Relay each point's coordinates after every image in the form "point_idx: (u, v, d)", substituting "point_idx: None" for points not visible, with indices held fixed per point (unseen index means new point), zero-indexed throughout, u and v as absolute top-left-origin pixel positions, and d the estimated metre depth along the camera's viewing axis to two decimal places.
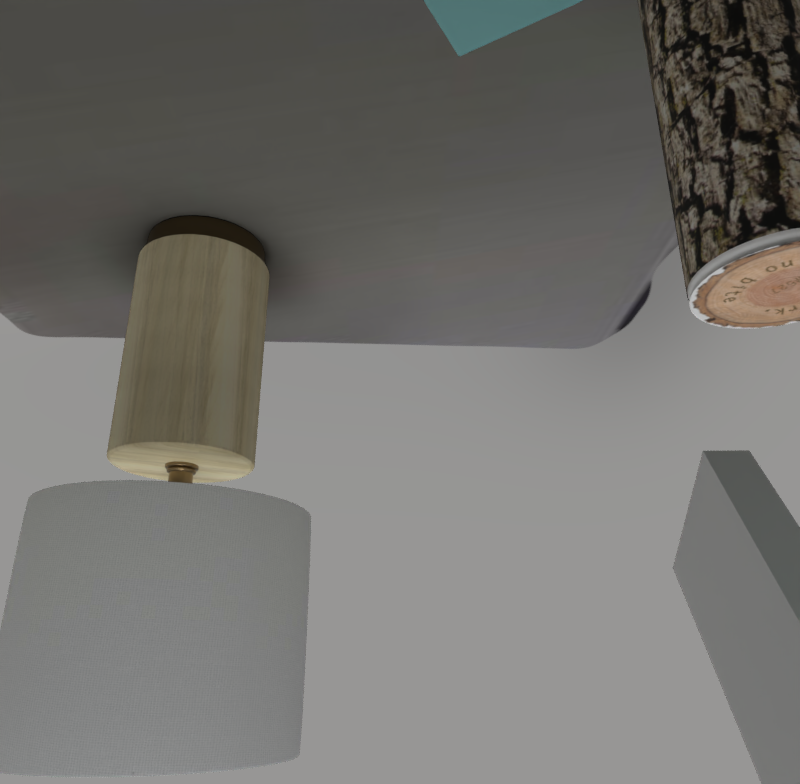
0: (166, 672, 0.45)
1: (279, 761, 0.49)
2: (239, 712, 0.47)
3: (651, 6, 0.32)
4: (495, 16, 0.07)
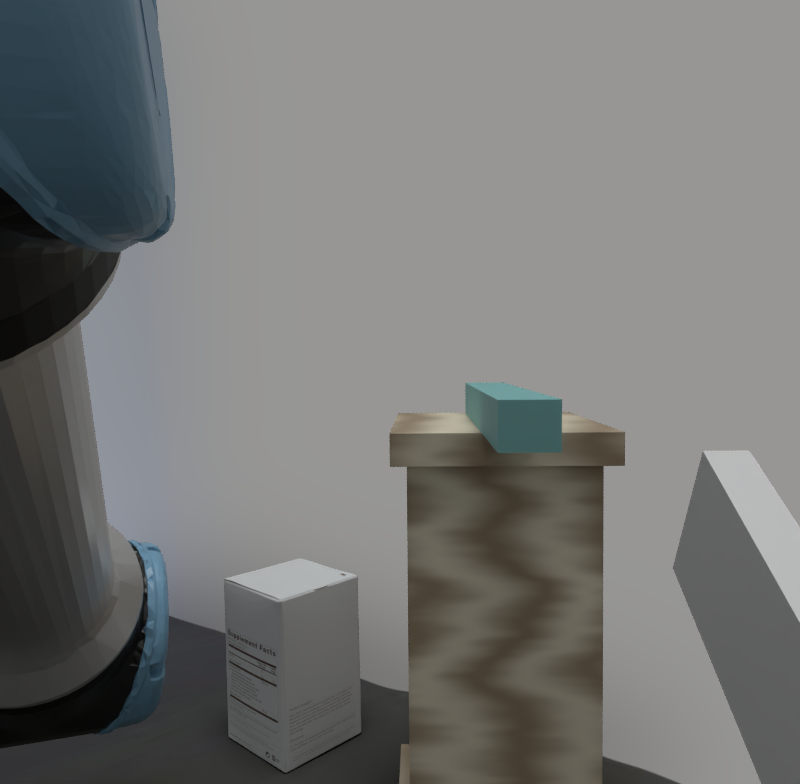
0: None
1: None
2: None
3: None
4: (554, 398, 0.34)
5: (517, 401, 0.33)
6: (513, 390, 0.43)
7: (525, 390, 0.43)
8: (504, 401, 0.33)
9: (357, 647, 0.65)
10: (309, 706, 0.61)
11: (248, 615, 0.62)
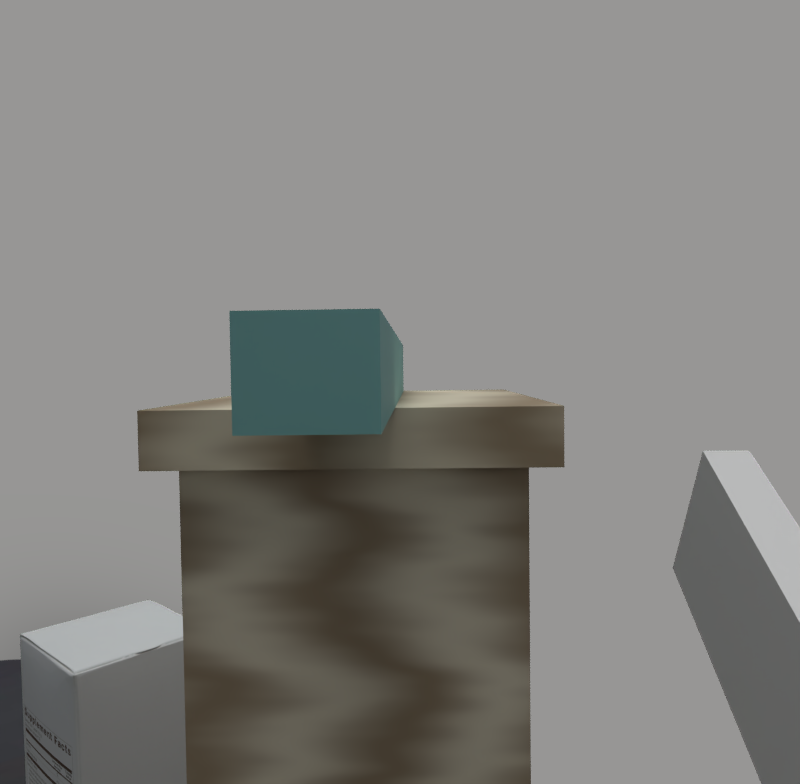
0: None
1: None
2: None
3: None
4: None
5: (275, 314, 0.14)
6: None
7: None
8: (246, 314, 0.14)
9: None
10: None
11: (42, 690, 0.42)
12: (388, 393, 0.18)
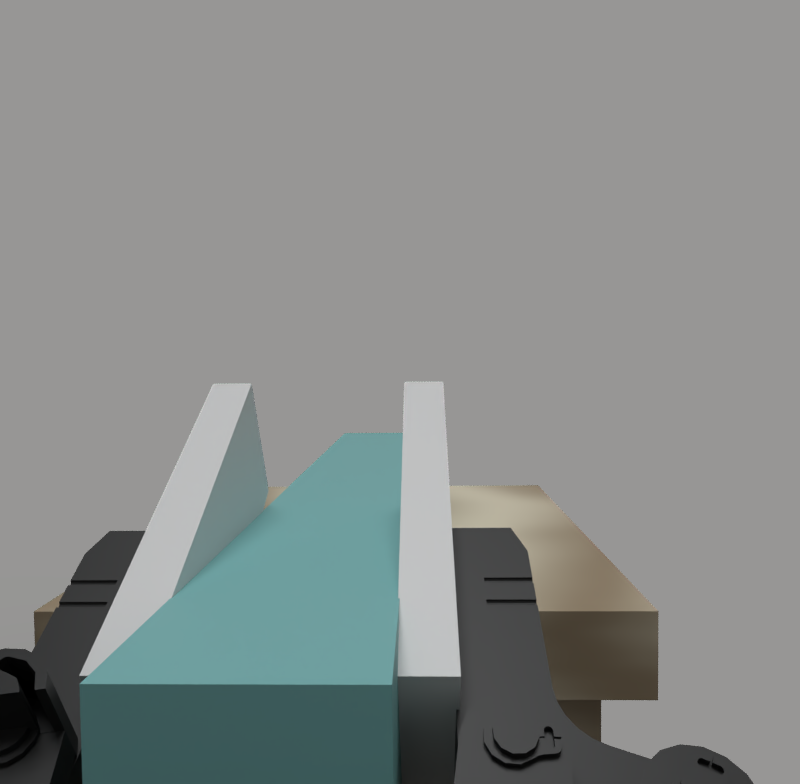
0: None
1: None
2: None
3: None
4: (368, 661, 0.07)
5: (173, 694, 0.07)
6: (365, 494, 0.16)
7: (396, 494, 0.16)
8: (114, 689, 0.07)
9: None
10: None
11: None
12: None
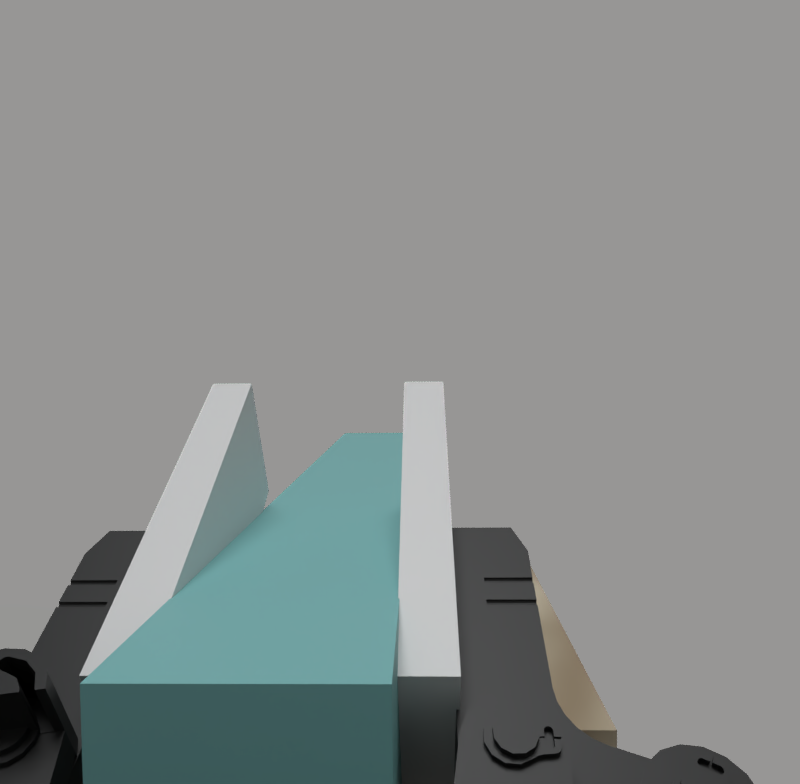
0: None
1: None
2: None
3: None
4: (368, 661, 0.07)
5: (173, 693, 0.07)
6: (365, 494, 0.16)
7: (396, 494, 0.16)
8: (115, 689, 0.07)
9: None
10: None
11: None
12: None
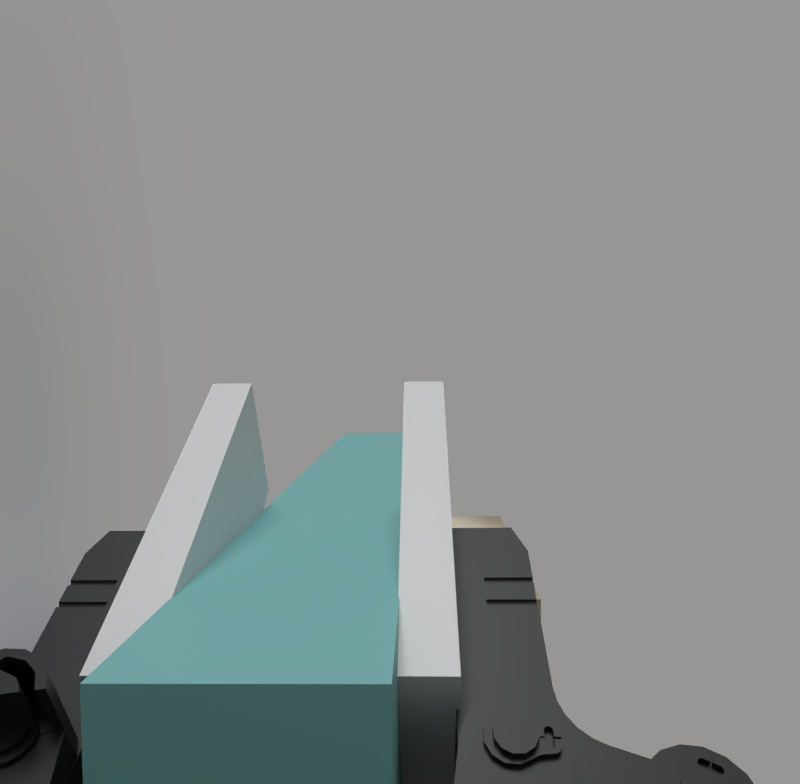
0: None
1: None
2: None
3: None
4: (368, 660, 0.07)
5: (173, 693, 0.07)
6: (365, 494, 0.16)
7: (396, 494, 0.16)
8: (115, 689, 0.07)
9: None
10: None
11: None
12: None
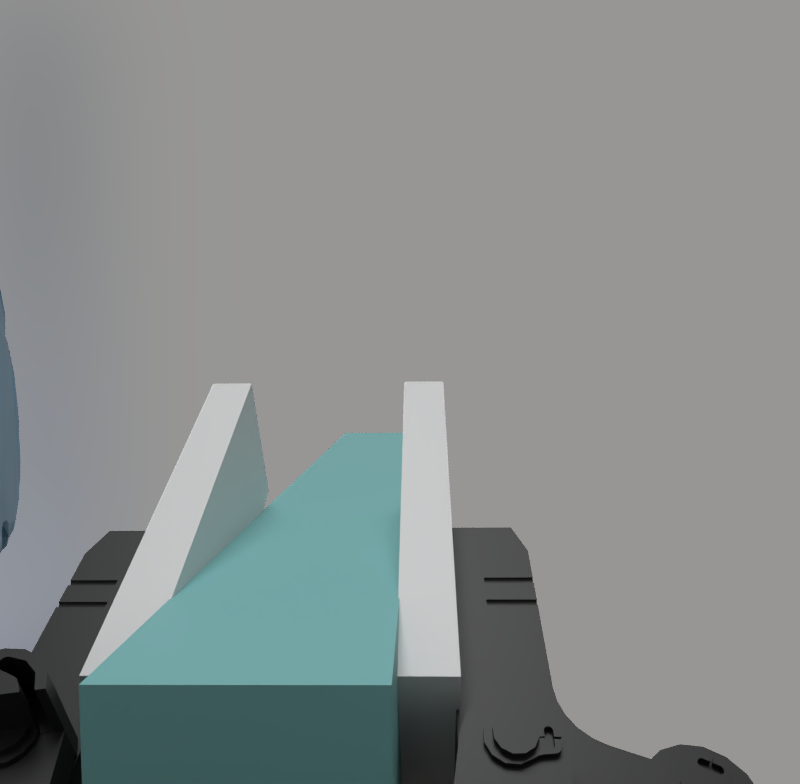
0: None
1: None
2: None
3: None
4: (368, 661, 0.07)
5: (172, 694, 0.07)
6: (365, 494, 0.16)
7: (396, 494, 0.16)
8: (114, 690, 0.07)
9: None
10: None
11: None
12: None
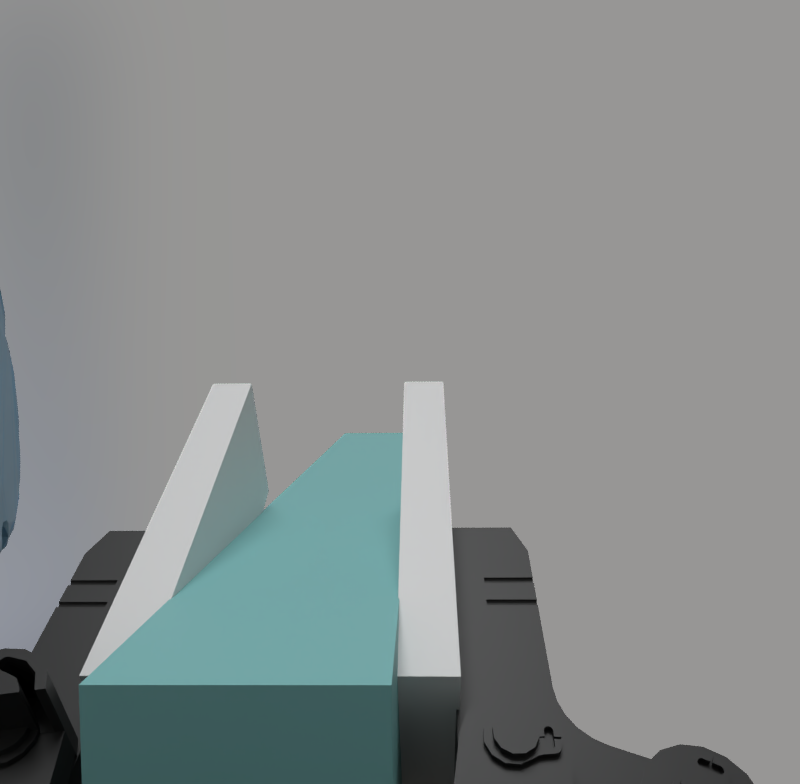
0: None
1: None
2: None
3: None
4: (368, 661, 0.07)
5: (172, 694, 0.07)
6: (365, 494, 0.16)
7: (396, 494, 0.16)
8: (114, 690, 0.07)
9: None
10: None
11: None
12: None
